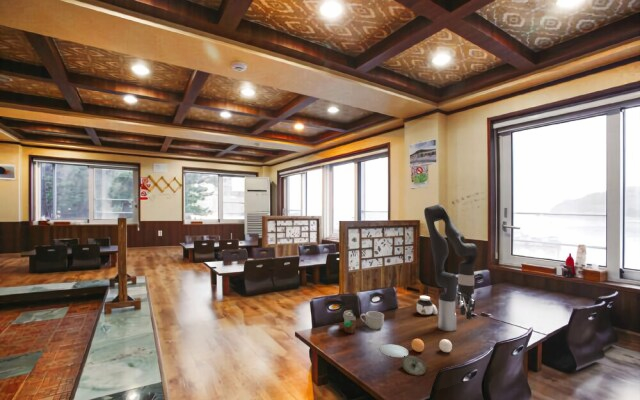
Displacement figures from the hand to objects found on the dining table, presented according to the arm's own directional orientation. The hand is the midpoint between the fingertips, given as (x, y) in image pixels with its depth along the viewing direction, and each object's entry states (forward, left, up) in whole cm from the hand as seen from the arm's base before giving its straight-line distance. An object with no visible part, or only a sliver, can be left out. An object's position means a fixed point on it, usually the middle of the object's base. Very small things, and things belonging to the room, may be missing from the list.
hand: (465, 316), depth 158 cm
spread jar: (-2, -57, -18) cm, 60 cm away
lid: (+32, +18, -18) cm, 41 cm away
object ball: (+24, 0, -14) cm, 28 cm away
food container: (+56, -25, -18) cm, 64 cm away
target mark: (+36, 0, -17) cm, 40 cm away
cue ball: (+10, 0, -14) cm, 18 cm away
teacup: (+41, -31, -18) cm, 54 cm away
